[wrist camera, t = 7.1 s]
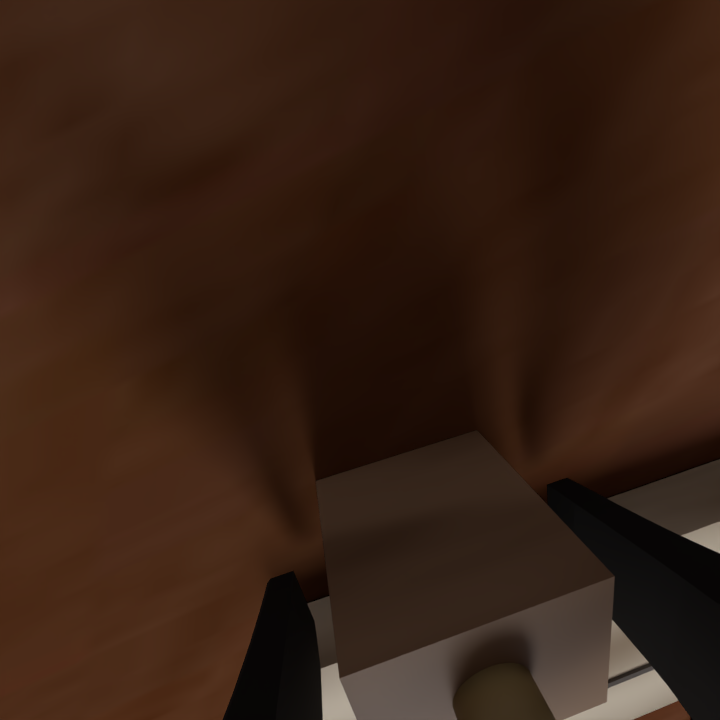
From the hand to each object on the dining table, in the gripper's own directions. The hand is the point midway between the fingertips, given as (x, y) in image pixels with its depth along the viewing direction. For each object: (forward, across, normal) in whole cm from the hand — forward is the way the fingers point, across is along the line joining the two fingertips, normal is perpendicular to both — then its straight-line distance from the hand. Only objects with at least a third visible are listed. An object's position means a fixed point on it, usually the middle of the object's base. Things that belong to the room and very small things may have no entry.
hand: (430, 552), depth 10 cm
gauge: (+2, 0, +4) cm, 4 cm away
